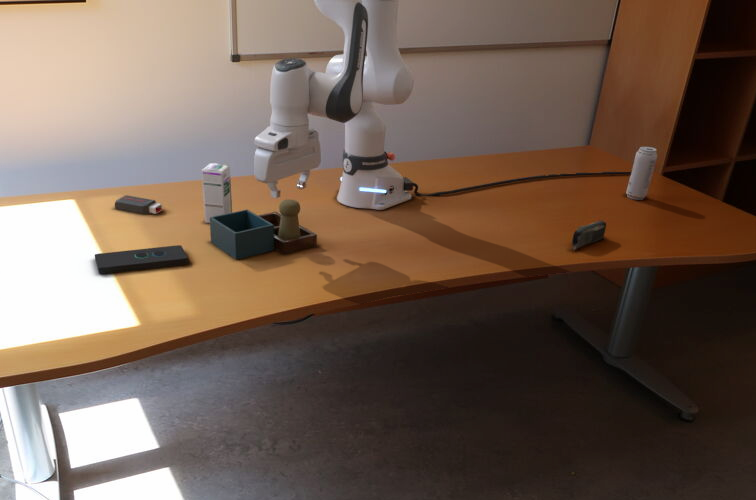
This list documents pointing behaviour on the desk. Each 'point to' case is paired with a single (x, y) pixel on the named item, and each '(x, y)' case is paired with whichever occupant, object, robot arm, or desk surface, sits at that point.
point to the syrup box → (216, 190)
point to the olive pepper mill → (289, 219)
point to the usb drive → (138, 205)
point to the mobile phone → (588, 234)
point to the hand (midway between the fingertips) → (288, 192)
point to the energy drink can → (641, 173)
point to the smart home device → (140, 259)
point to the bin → (242, 234)
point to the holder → (290, 245)
